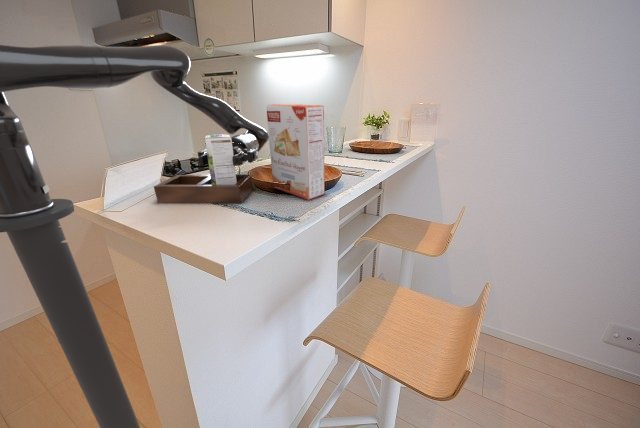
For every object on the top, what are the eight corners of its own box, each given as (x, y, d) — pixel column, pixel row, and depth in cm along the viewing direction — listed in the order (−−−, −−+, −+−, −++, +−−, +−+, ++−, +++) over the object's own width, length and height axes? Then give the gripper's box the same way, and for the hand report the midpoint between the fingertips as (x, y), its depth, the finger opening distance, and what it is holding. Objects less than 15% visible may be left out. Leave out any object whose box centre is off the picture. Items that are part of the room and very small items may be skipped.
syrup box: (213, 193, 72) (203, 134, 67) (237, 190, 74) (229, 133, 68) (214, 200, 67) (203, 137, 62) (239, 197, 69) (231, 136, 64)
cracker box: (271, 189, 75) (264, 104, 67) (289, 184, 79) (284, 103, 71) (307, 201, 66) (304, 104, 58) (325, 195, 70) (325, 104, 62)
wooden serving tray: (157, 203, 66) (153, 186, 65) (179, 189, 76) (176, 174, 75) (241, 203, 66) (239, 186, 64) (252, 189, 75) (251, 174, 74)
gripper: (212, 135, 79) (183, 144, 64) (263, 135, 79) (246, 144, 64) (216, 162, 82) (190, 177, 67) (265, 162, 82) (250, 177, 66)
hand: (217, 161), depth 65 cm, fingers closed on syrup box, 7 cm apart
